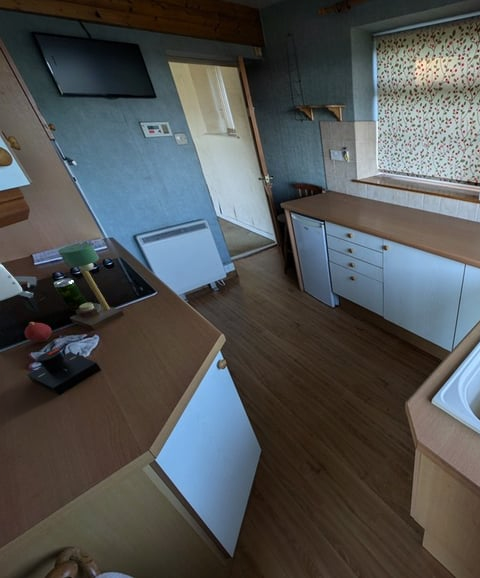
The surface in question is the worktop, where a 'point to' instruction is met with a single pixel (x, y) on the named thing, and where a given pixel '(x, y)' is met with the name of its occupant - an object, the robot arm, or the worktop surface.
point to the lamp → (83, 264)
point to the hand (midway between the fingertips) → (9, 319)
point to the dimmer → (65, 374)
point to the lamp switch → (86, 306)
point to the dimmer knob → (53, 360)
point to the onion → (38, 332)
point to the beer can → (70, 293)
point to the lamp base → (96, 316)
